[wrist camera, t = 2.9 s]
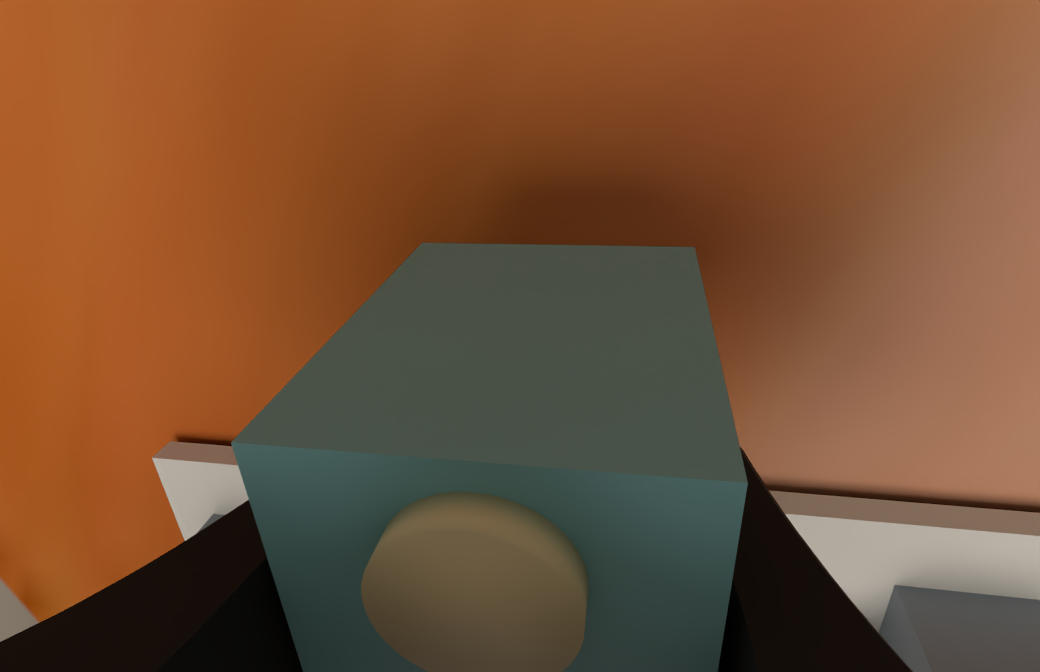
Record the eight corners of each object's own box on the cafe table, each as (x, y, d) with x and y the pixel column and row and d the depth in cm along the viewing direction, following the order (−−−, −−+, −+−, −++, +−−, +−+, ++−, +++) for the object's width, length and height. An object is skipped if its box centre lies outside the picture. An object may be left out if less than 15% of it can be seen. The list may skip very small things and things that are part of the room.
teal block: (666, 557, 11) (684, 940, 7) (457, 536, 12) (340, 869, 7) (694, 246, 9) (758, 524, 4) (422, 242, 9) (199, 475, 5)
